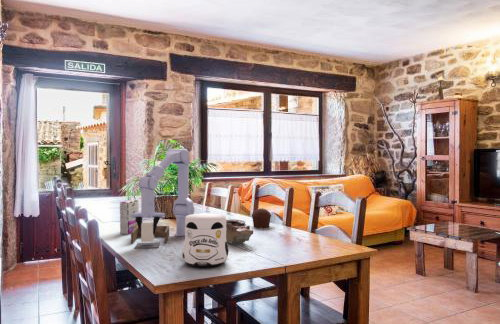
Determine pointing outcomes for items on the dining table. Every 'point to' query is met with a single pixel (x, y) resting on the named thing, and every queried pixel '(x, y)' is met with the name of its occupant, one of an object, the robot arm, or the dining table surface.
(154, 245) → the charcoal mat
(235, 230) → the grey-brown irregular lump
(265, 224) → the muffin
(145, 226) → the cream block
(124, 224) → the candy bar box
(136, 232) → the walnut u-shaped frame
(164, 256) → the dining table surface
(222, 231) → the dulce de leche canister
